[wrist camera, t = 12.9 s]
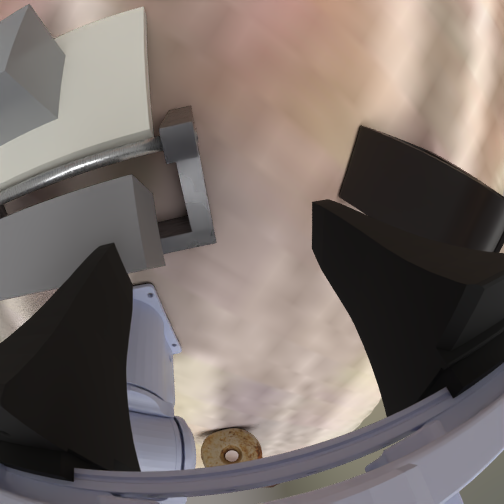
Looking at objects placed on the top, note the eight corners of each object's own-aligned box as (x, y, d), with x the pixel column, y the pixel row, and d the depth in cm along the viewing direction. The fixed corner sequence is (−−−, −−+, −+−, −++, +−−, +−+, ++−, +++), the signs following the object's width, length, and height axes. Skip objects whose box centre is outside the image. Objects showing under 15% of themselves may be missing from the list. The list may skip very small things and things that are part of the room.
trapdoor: (183, 261, 15) (170, 263, 11) (-2, 300, 14) (-39, 308, 10) (154, 44, 15) (143, 6, 11) (-4, 110, 14) (-32, 91, 10)
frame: (214, 225, 22) (226, 285, 16) (22, 270, 20) (-7, 326, 14) (192, 105, 16) (194, 121, 11) (-19, 181, 15) (-67, 224, 9)
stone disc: (255, 421, 44) (268, 472, 36) (255, 428, 46) (267, 476, 38) (195, 430, 43) (203, 482, 35) (199, 436, 45) (207, 485, 37)
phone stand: (337, 195, 22) (432, 296, 13) (359, 124, 19) (486, 189, 9) (412, 210, 25) (498, 290, 15) (434, 153, 22) (536, 218, 12)
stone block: (58, 118, 11) (4, 70, 6) (-3, 147, 10) (-59, 118, 5) (65, 55, 11) (29, 3, 6) (7, 84, 10) (-35, 47, 5)
